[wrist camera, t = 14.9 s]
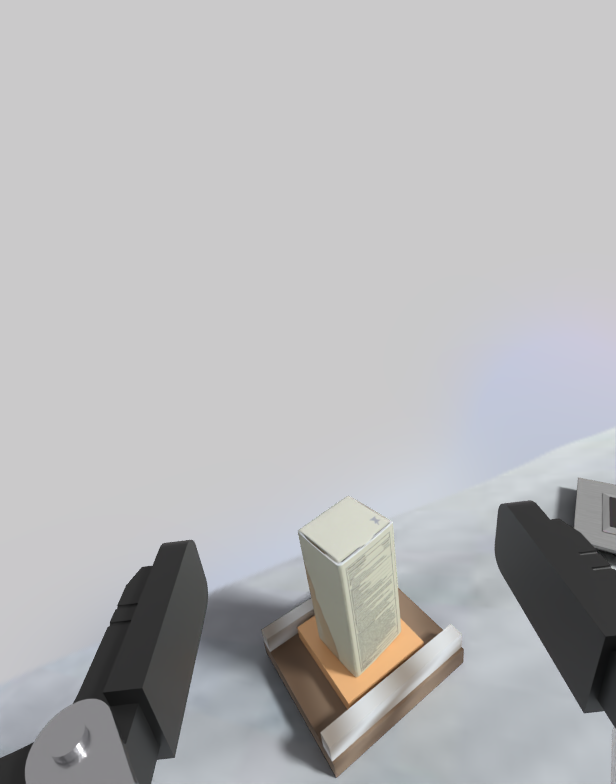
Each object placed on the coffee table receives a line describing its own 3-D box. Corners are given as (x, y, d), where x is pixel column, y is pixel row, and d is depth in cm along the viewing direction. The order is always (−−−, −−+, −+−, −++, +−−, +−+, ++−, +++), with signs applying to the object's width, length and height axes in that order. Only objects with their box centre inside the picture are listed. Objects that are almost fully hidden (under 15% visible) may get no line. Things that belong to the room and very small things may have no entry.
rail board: (336, 778, 25) (331, 751, 24) (266, 652, 33) (260, 628, 32) (463, 662, 31) (464, 636, 30) (376, 578, 39) (374, 554, 38)
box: (363, 598, 34) (351, 491, 29) (403, 633, 31) (397, 519, 26) (315, 640, 31) (294, 528, 27) (354, 683, 28) (338, 564, 23)
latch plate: (350, 714, 27) (348, 703, 27) (299, 637, 33) (297, 627, 32) (423, 652, 30) (423, 641, 30) (366, 591, 36) (364, 581, 35)
